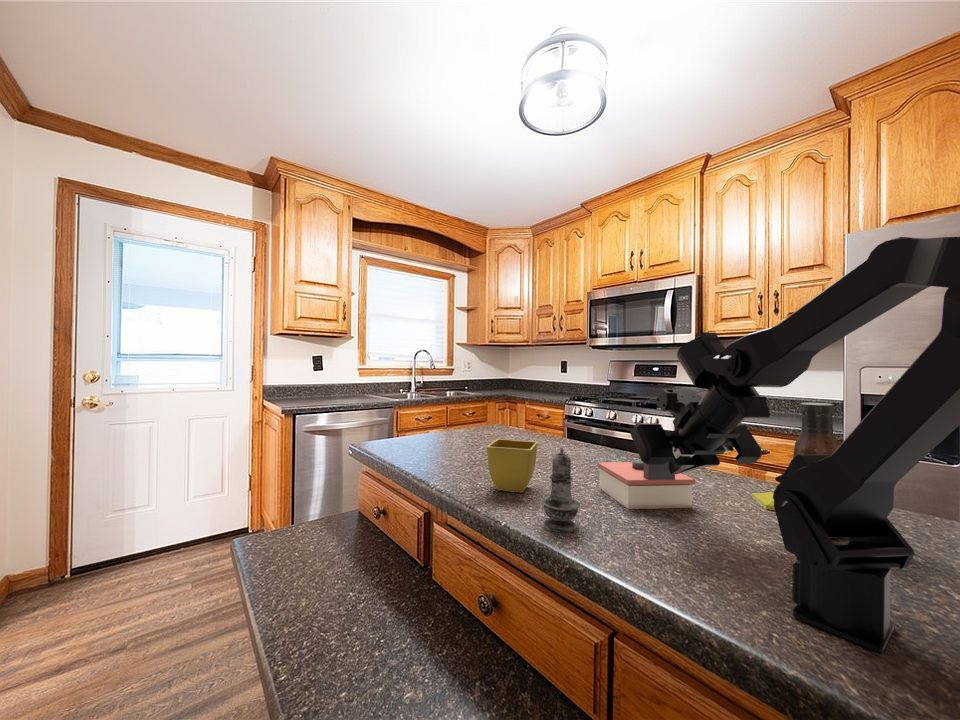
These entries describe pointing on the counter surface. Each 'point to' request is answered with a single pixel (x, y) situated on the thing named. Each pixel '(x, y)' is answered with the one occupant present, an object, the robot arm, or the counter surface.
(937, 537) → the counter surface
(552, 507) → the salt shaker
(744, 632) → the counter surface
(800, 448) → the sauce bottle
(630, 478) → the lid
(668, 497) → the white rectangular box
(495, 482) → the flower pot
